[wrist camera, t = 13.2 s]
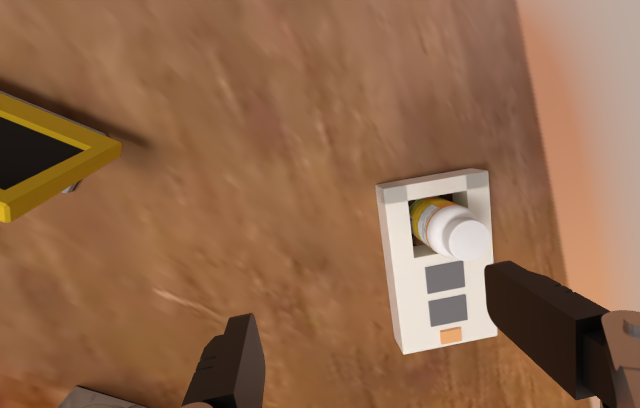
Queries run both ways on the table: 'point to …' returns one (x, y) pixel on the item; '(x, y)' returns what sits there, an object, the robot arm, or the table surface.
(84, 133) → the yellow framed monitor
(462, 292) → the white bottle holder
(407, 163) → the table surface
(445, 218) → the supplement bottle
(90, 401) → the coffee box
